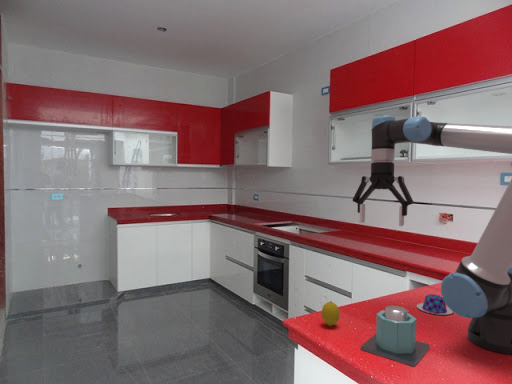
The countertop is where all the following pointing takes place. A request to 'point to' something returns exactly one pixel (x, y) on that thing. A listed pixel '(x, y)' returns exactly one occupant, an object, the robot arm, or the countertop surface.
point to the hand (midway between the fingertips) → (381, 224)
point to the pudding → (434, 305)
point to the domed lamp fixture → (406, 358)
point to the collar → (396, 334)
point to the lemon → (330, 313)
